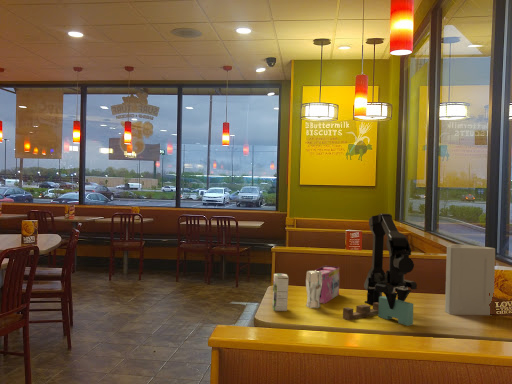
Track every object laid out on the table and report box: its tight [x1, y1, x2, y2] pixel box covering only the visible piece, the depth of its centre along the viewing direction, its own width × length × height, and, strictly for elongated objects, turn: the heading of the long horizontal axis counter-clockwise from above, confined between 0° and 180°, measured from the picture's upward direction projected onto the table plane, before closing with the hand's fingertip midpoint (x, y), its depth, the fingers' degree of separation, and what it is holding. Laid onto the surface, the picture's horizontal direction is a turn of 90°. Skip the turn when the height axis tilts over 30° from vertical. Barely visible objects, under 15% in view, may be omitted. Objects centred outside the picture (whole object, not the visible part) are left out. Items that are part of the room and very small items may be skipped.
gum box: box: [312, 265, 340, 304], centre depth 210 cm, size 24×8×14 cm, turn 154°
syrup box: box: [271, 273, 289, 312], centre depth 186 cm, size 6×6×14 cm
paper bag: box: [444, 243, 496, 316], centre depth 195 cm, size 19×15×28 cm
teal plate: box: [377, 295, 414, 327], centre depth 175 cm, size 14×3×8 cm, turn 35°
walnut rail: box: [342, 302, 379, 321], centre depth 180 cm, size 20×3×4 cm, turn 125°
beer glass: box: [305, 270, 322, 309], centre depth 193 cm, size 7×7×15 cm
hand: (395, 308), depth 175 cm, fingers open, 5 cm apart
